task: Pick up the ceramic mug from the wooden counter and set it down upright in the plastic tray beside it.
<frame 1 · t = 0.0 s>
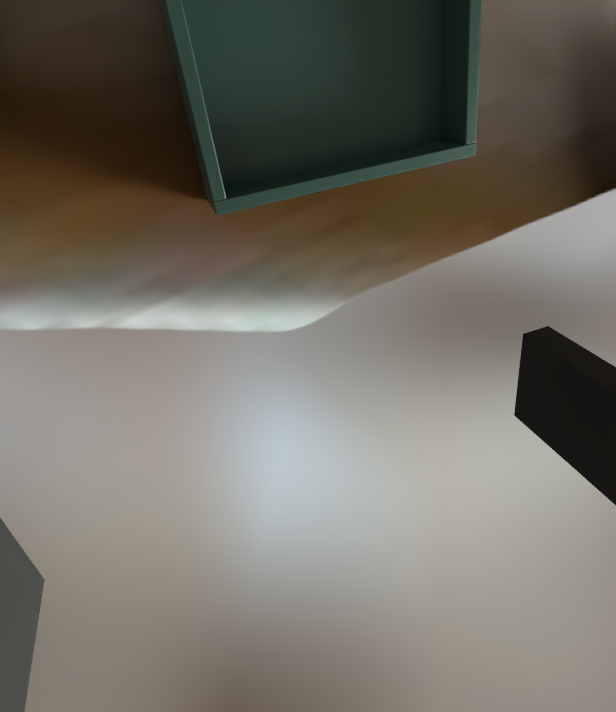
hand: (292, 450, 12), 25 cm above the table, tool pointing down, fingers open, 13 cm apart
tray: (313, 1, 29), on the table
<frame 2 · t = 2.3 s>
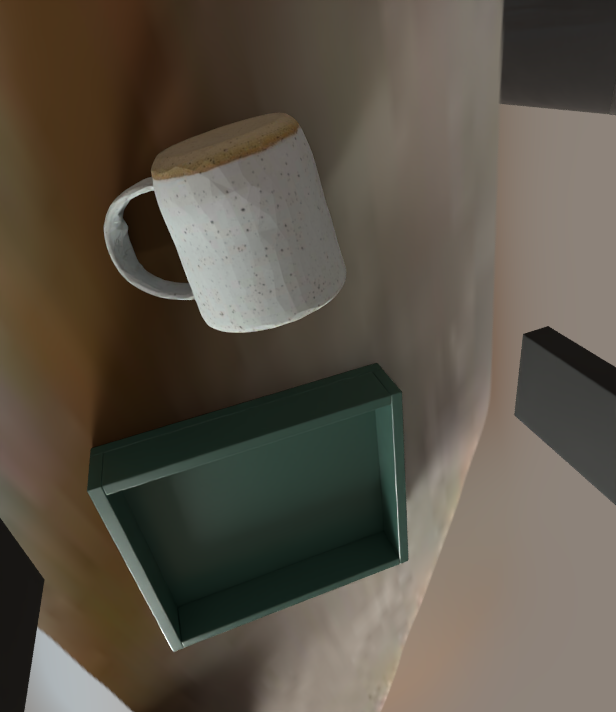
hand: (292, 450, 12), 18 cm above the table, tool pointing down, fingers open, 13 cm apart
ceramic mug: (213, 218, 27), on the table
tray: (265, 493, 38), on the table
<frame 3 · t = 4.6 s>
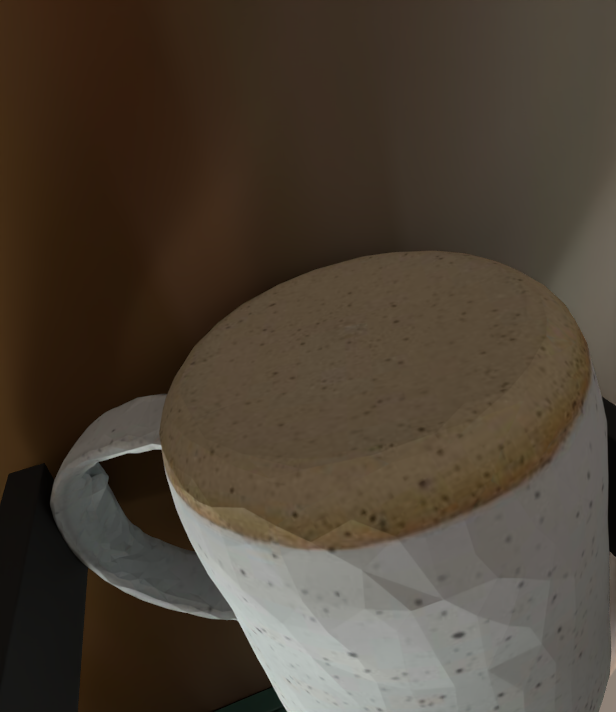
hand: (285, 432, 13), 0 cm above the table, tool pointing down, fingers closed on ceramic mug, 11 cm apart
ceramic mug: (283, 421, 13), on the table, touching gripper
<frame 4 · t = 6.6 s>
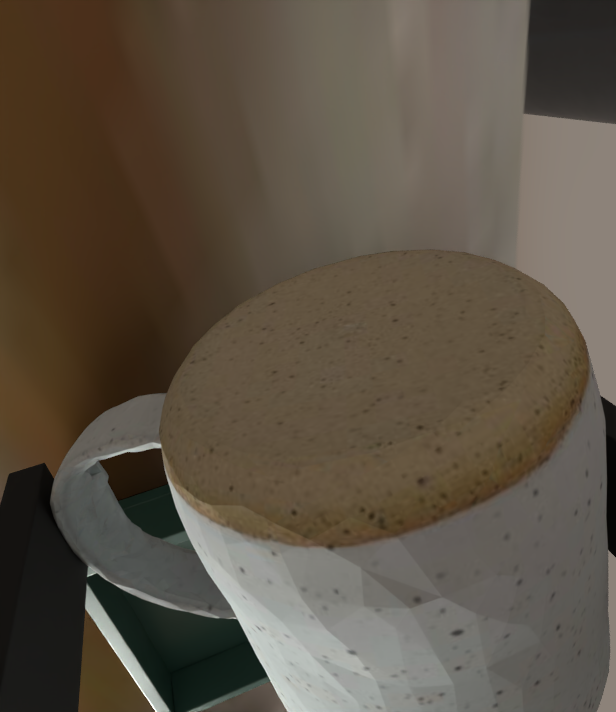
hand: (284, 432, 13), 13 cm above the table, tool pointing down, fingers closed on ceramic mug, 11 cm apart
ceramic mug: (283, 420, 13), point 12 cm above the table, touching gripper
tray: (264, 551, 34), on the table
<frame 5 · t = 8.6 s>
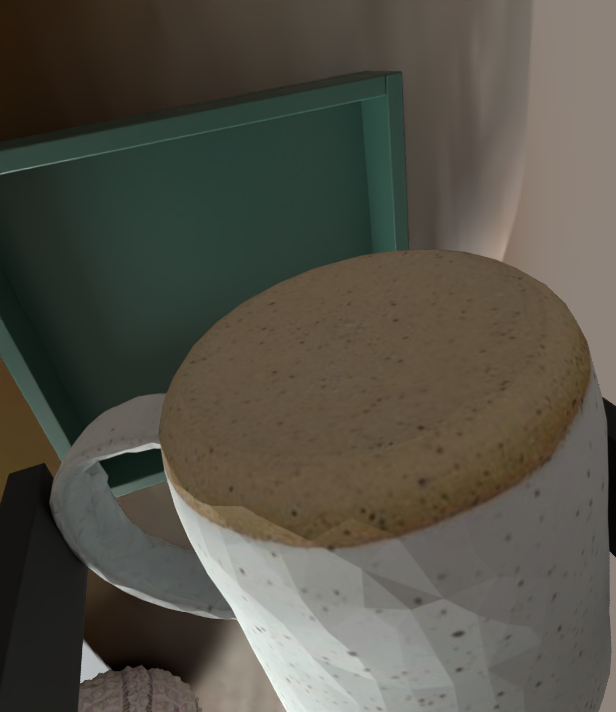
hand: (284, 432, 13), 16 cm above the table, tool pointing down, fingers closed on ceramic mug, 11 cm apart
ceramic mug: (283, 420, 13), point 15 cm above the table, touching gripper
sea urchin shell: (117, 699, 42), on the table
tray: (214, 287, 27), on the table
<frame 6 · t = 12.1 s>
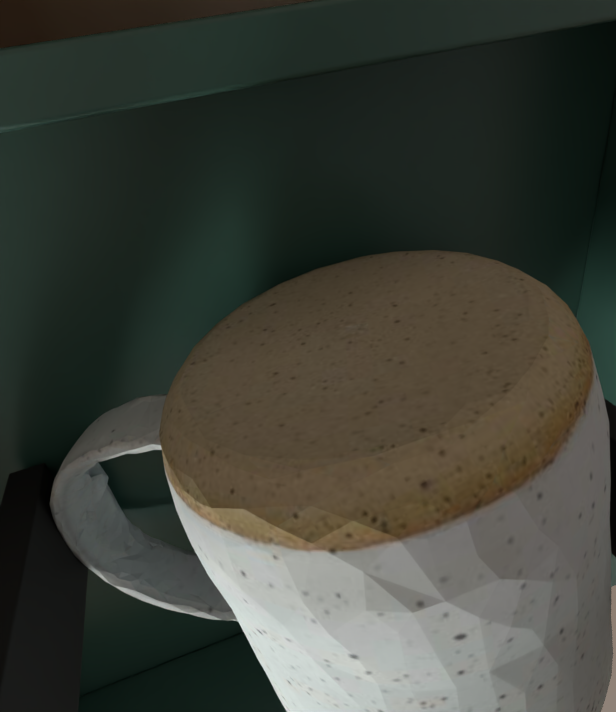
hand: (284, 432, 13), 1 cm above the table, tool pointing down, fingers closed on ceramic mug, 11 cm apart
ceramic mug: (284, 421, 13), point 1 cm above the table, touching gripper, tray
tray: (275, 409, 14), on the table
when the fingers open (1 cm above the table, at t = 12.6 s): ceramic mug stays where it is, resting on tray.
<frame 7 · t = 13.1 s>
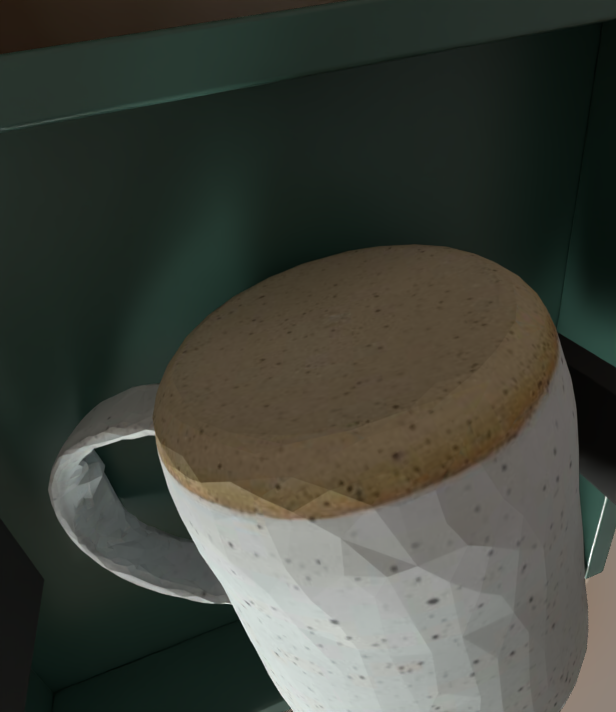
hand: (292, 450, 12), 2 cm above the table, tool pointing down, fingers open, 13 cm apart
ceramic mug: (275, 412, 14), point 1 cm above the table, touching tray
tray: (268, 400, 14), on the table
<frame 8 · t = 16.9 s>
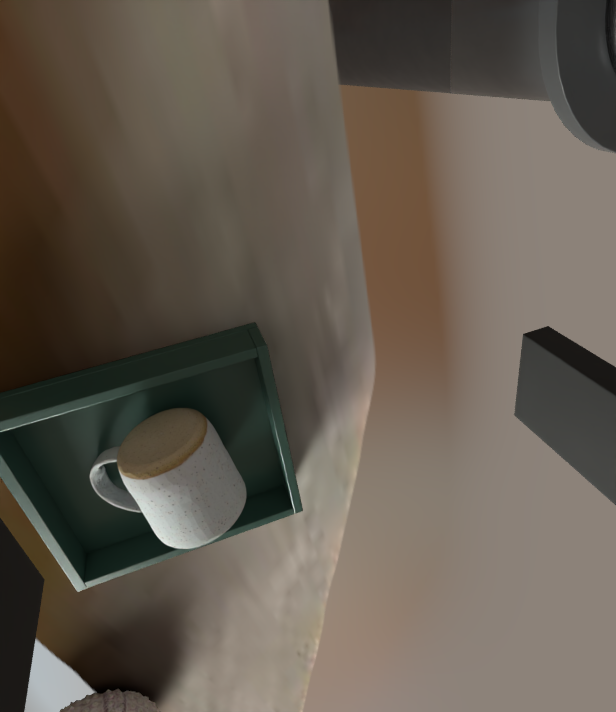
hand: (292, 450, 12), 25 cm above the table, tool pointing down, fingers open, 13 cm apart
ceramic mug: (163, 450, 40), point 1 cm above the table, touching tray
tray: (161, 446, 41), on the table
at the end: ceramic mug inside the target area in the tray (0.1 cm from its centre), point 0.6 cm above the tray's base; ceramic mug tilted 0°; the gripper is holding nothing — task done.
